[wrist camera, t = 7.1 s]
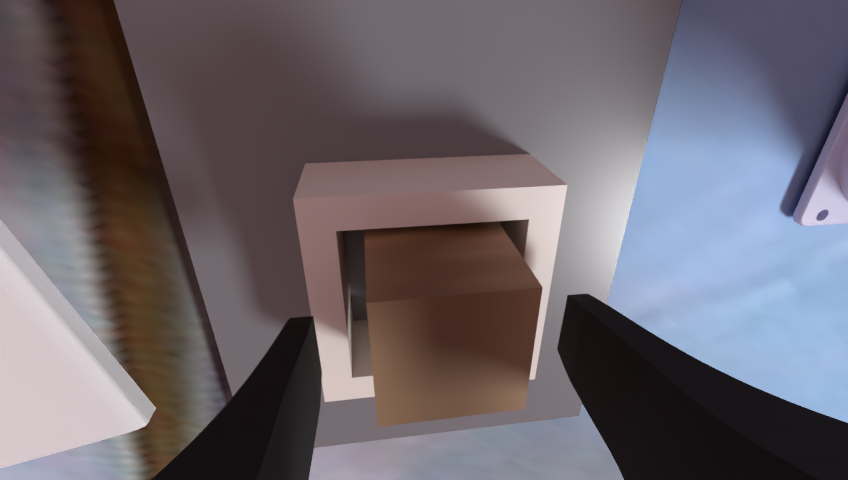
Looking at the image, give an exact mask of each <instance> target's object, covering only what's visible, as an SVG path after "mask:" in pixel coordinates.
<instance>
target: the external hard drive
mask: <svg viewBox="0 0 848 480" xmlns="http://www.w3.org/2000/svg"><path fill="white" fill-rule="evenodd" d="M155 410H156V407H155V406H154V405H153V404H152V403H151V402H150V400H149V399H148V398H147V397H146V395H145V394H144V393H143V392H142V391H141V389H140V388H139V387H138V386H137V384H136V383H135V382H134V381H133V380H132V378H131V377H130V376H129V375H128V374H127V372H126V371H125V370H124V369H123V368H122V366H121V365H120V364H119V363H118V362H117V360H116V359H115V358H114V357H113V356H112V354H111V353H110V352H109V351H108V349H107V348H106V347H105V346H104V345H103V343H102V342H101V341H100V340H99V339H98V337H97V336H96V335H95V334H94V332H93V331H92V330H91V329H90V328H89V326H88V325H87V324H86V323H85V322H84V320H83V319H82V318H81V317H80V316H79V314H78V313H77V312H76V311H75V309H74V308H73V307H72V306H71V305H70V303H69V302H68V301H67V300H66V298H65V297H64V296H63V295H62V294H61V292H60V291H59V290H58V289H57V288H56V286H55V285H54V284H53V283H52V282H51V280H50V279H49V278H48V277H47V275H46V274H45V273H44V272H43V271H42V269H41V268H40V267H39V266H38V265H37V263H36V262H35V261H34V260H33V258H32V257H31V256H30V255H29V253H28V252H27V251H26V250H25V249H24V247H23V246H22V245H21V244H20V243H19V241H18V240H17V239H16V238H15V237H14V235H13V234H12V233H11V232H10V231H9V229H8V228H7V227H6V226H5V224H4V223H3V222H2V221H1V220H0V468H4V467H7V466H11V465H15V464H18V463H21V462H25V461H28V460H32V459H36V458H40V457H43V456H47V455H51V454H54V453H57V452H61V451H65V450H69V449H72V448H76V447H79V446H83V445H86V444H89V443H94V442H98V441H100V440H104V439H108V438H112V437H116V436H119V435H122V434H126V433H129V432H131V431H134V430H138V429H140V428H142V427H144V426H146V425H147V424H148V422H149V420H150V418H151V416H152V415H153V413H154V411H155Z"/></svg>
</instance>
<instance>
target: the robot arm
mask: <svg viewBox="0 0 848 480" xmlns="http://www.w3.org/2000/svg"><path fill="white" fill-rule="evenodd" d="M793 220H794V221H795V222H796V223H798V224H800V225H802V226H815V225H830V224H844V223H848V93H847V96H846V98H845V100H844V102H843V105H842V107H841V109H840V111H839V113H838V116H837V118H836V120H835V122H834V125H833V127H832V129H831V131H830V133H829V136H828V138H827V140H826V142H825V145H824V147H823V149H822V151H821V154H820V156H819V158H818V160H817V162H816V165H815V167H814V169H813V171H812V174H811V176H810V178H809V180H808V182H807V185H806V187H805V189H804V191H803V194H802V196H801V198H800V200H799V203H798V205H797V207H796V209H795V211H794V214H793ZM557 350H558V353H559V355H560V358H561V361H562V363H563V366H564V368H565V370H566V373H567V375H568V377H569V380H570V382H571V384H572V385H573V387H574V389H575V391H576V393H577V394H578V396H579V398H580V400H581V401H582V403H583V405H584V407H585V408H586V410H587V412H588V414H589V415H590V417H591V419H592V421H593V422H594V424H595V426H596V427H597V429H598V431H599V433H600V434H601V436H602V438H603V440H604V441H605V443H606V445H607V447H608V448H609V450H610V452H611V454H612V456H613V457H614V459H615V461H616V463H617V465H618V467H619V469H620V471H621V473H622V476H623V478H624V480H848V423H846V422H843V421H840V420H837V419H835V418H832V417H829V416H826V415H823V414H820V413H817V412H815V411H812V410H809V409H807V408H804V407H801V406H799V405H796V404H794V403H791V402H788V401H786V400H784V399H781V398H779V397H776V396H774V395H772V394H769V393H767V392H764V391H762V390H760V389H757V388H755V387H753V386H750V385H748V384H746V383H744V382H742V381H739V380H737V379H735V378H733V377H731V376H729V375H727V374H725V373H723V372H721V371H719V370H717V369H715V368H713V367H711V366H709V365H707V364H705V363H703V362H701V361H699V360H697V359H695V358H694V357H692V356H690V355H688V354H686V353H685V352H683V351H681V350H679V349H678V348H676V347H674V346H672V345H670V344H669V343H667V342H665V341H664V340H662V339H660V338H659V337H657V336H655V335H654V334H652V333H651V332H649V331H647V330H646V329H644V328H642V327H641V326H639V325H638V324H636V323H635V322H633V321H631V320H630V319H628V318H627V317H625V316H624V315H622V314H620V313H619V312H617V311H616V310H614V309H613V308H611V307H609V306H608V305H606V304H605V303H603V302H601V301H600V300H598V299H597V298H595V297H593V296H591V295H589V294H588V293H587V294H575V295H567V300H566V306H565V311H564V316H563V321H562V326H561V331H560V337H559V342H558V347H557ZM321 382H322V369H321V363H320V356H319V350H318V343H317V337H316V330H315V324H314V317H313V316H307V317H295V318H290V319H289V320H288V321H287V322H286V323H285V325H284V326H283V328H282V330H281V331H280V333H279V334H278V336H277V337H276V339H275V340H274V342H273V343H272V345H271V346H270V348H269V349H268V351H267V352H266V354H265V355H264V357H263V358H262V359H261V361H260V362H259V363H258V365H257V366H256V368H255V369H254V370H253V372H252V373H251V374H250V376H249V377H248V378H247V380H246V381H245V382H244V383H243V385H242V386H241V387H240V388H239V390H238V391H237V392H236V393H235V394H234V396H233V397H232V398H231V399H230V401H229V402H228V403H227V404H226V405H225V407H224V408H223V409H222V410H221V411H220V412H219V413H218V415H217V416H216V417H215V418H214V419H213V420H212V421H211V422H210V423H209V424H208V425H207V426H206V428H205V429H204V430H203V431H202V432H201V433H200V434H199V435H198V436H197V437H196V438H195V439H194V440H193V441H192V442H191V443H190V444H189V445H188V446H187V447H186V448H185V449H184V450H183V451H182V452H181V453H180V454H179V455H178V456H176V457H175V458H174V459H173V460H172V461H171V462H170V463H169V464H168V465H167V466H166V467H165V468H164V469H163V470H162V471H160V472H159V473H158V474H157V475H156V476H155V477H154V478H153V479H151V480H308V479H309V473H310V467H311V461H312V455H313V449H314V443H315V437H316V431H317V424H318V418H319V412H320V402H321Z"/></svg>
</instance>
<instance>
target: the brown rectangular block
mask: <svg viewBox="0 0 848 480" xmlns="http://www.w3.org/2000/svg"><path fill="white" fill-rule="evenodd" d="M364 244H365V276H366V305H367V316H368V327H369V338H370V349H371V360H372V370H373V381H374V392H375V403H376V414H377V425H378V427H383V426H391V425H399V424H407V423H415V422H423V421H431V420H439V419H447V418H455V417H463V416H472V415H480V414H488V413H496V412H504V411H512V410H520V409H525V405H526V398H527V391H528V384H529V377H530V371H531V364H532V357H533V350H534V343H535V337H536V330H537V323H538V316H539V309H540V302H541V296H542V289H543V287H542V286H541V284H540V283H539V281H538V280H537V278H536V277H535V275H534V274H533V272H532V271H531V269H530V268H529V266H528V265H527V263H526V262H525V260H524V259H523V257H522V256H521V254H520V253H519V251H518V250H517V248H516V247H515V245H514V244H513V242H512V241H511V239H510V238H509V236H508V235H507V234H506V232H505V231H504V229H503V228H502V226H501V225H500V223H499V222H498V221H494V222H477V223H461V224H445V225H429V226H412V227H396V228H380V229H364Z"/></svg>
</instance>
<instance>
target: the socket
mask: <svg viewBox="0 0 848 480" xmlns="http://www.w3.org/2000/svg"><path fill="white" fill-rule="evenodd" d="M114 3H115V7H116V10H117V13H118V17H119V20H120V23H121V27H122V30H123V33H124V37H125V40H126V43H127V47H128V50H129V53H130V57H131V60H132V63H133V67H134V70H135V73H136V77H137V80H138V83H139V87H140V90H141V93H142V97H143V100H144V103H145V106H146V110H147V113H148V116H149V120H150V123H151V126H152V130H153V133H154V136H155V140H156V143H157V146H158V150H159V153H160V156H161V160H162V163H163V166H164V170H165V173H166V176H167V180H168V183H169V186H170V190H171V193H172V196H173V200H174V203H175V206H176V210H177V213H178V216H179V220H180V223H181V226H182V230H183V233H184V236H185V240H186V243H187V246H188V250H189V253H190V256H191V260H192V263H193V266H194V270H195V273H196V276H197V280H198V283H199V286H200V290H201V293H202V296H203V300H204V303H205V306H206V310H207V313H208V316H209V320H210V323H211V326H212V330H213V333H214V336H215V340H216V343H217V346H218V350H219V353H220V356H221V360H222V363H223V366H224V370H225V373H226V376H227V380H228V383H229V386H230V390H231V393H232V396H234V394H235V393H236V392H237V391H238V390H239V388H240V387H241V386H242V385H243V383H244V382H245V381H246V380H247V378H248V377H249V376H250V374H251V373H252V372H253V370H254V369H255V368H256V366H257V365H258V363H259V362H260V361H261V359H262V358H263V357H264V355H265V354H266V352H267V351H268V349H269V348H270V346H271V345H272V343H273V342H274V340H275V339H276V337H277V336H278V334H279V333H280V331H281V330H282V328H283V326H284V325H285V323H286V322H287V321H288V320H289V319H290V318H295V317H307V316H313V317H314V324H315V330H316V337H317V343H318V350H319V356H320V363H321V369H322V382H321V402H320V412H319V418H318V424H317V431H316V437H315V443H314V448H316V447H324V446H332V445H340V444H349V443H357V442H365V441H373V440H382V439H390V438H398V437H407V436H415V435H423V434H431V433H440V432H448V431H456V430H464V429H473V428H481V427H489V426H498V425H506V424H514V423H522V422H531V421H539V420H547V419H555V418H564V417H572V416H579V413H580V409H581V405H582V401H581V400H580V398H579V396H578V394H577V393H576V391H575V389H574V387H573V385H572V384H571V382H570V380H569V377H568V375H567V373H566V370H565V368H564V366H563V363H562V361H561V358H560V355H559V353H558V350H557V347H558V342H559V337H560V331H561V326H562V321H563V316H564V311H565V306H566V300H567V295H575V294H587V293H588V294H589V295H591V296H593V297H595V298H597V299H598V300H600V301H601V302H603V303H605V304H607V300H608V296H609V292H610V288H611V284H612V280H613V276H614V272H615V268H616V264H617V260H618V256H619V252H620V248H621V244H622V240H623V236H624V232H625V228H626V224H627V220H628V216H629V212H630V208H631V204H632V200H633V196H634V192H635V188H636V184H637V180H638V176H639V172H640V168H641V164H642V160H643V156H644V152H645V147H646V143H647V139H648V135H649V131H650V127H651V123H652V119H653V115H654V111H655V107H656V103H657V99H658V95H659V91H660V87H661V83H662V79H663V75H664V71H665V67H666V63H667V59H668V55H669V51H670V47H671V43H672V39H673V35H674V31H675V27H676V23H677V19H678V15H679V11H680V7H681V3H682V0H114ZM494 221H498V222H499V223H500V225H501V226H502V228H503V229H504V231H505V232H506V234H507V235H508V236H509V238H510V239H511V241H512V242H513V244H514V245H515V247H516V248H517V250H518V251H519V253H520V254H521V256H522V257H523V259H524V260H525V262H526V263H527V265H528V266H529V268H530V269H531V271H532V272H533V274H534V275H535V277H536V278H537V280H538V281H539V283H540V284H541V286H542V287H543V289H542V296H541V302H540V309H539V316H538V323H537V330H536V337H535V343H534V350H533V357H532V364H531V371H530V377H529V384H528V391H527V398H526V405H525V409H520V410H512V411H504V412H496V413H488V414H480V415H472V416H463V417H455V418H447V419H439V420H431V421H423V422H415V423H407V424H399V425H391V426H383V427H378V425H377V414H376V403H375V392H374V381H373V370H372V360H371V349H370V338H369V327H368V316H367V305H366V276H365V244H364V229H380V228H396V227H412V226H429V225H445V224H461V223H477V222H494Z"/></svg>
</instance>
